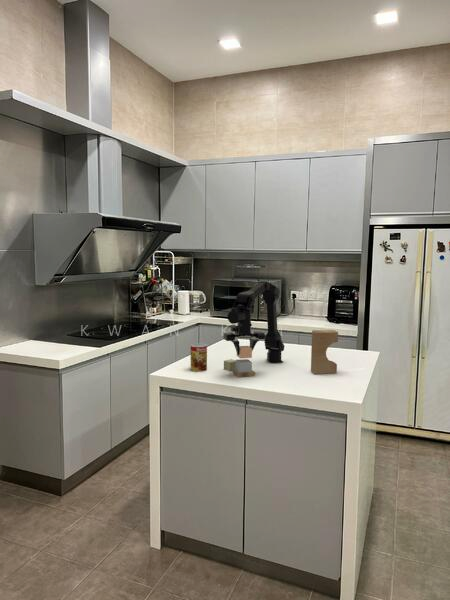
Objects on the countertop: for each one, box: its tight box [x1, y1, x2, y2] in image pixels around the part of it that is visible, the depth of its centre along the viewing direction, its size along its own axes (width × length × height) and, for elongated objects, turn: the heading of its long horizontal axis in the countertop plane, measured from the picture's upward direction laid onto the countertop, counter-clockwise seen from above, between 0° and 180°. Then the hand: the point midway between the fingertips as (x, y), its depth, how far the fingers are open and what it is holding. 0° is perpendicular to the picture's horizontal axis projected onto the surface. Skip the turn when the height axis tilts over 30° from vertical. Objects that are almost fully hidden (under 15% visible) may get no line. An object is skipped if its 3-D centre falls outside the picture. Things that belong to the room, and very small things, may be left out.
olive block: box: [223, 358, 237, 373], centre depth 213 cm, size 5×5×4 cm
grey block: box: [235, 358, 253, 372], centre depth 204 cm, size 6×6×4 cm
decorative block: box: [310, 329, 339, 375], centre depth 209 cm, size 11×6×20 cm, turn 98°
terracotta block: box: [236, 345, 253, 359], centre depth 204 cm, size 6×6×4 cm
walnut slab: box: [232, 369, 256, 379], centre depth 205 cm, size 8×8×2 cm
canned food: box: [190, 342, 208, 373], centre depth 212 cm, size 8×8×12 cm
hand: (244, 354), depth 204 cm, fingers closed on terracotta block, 5 cm apart
